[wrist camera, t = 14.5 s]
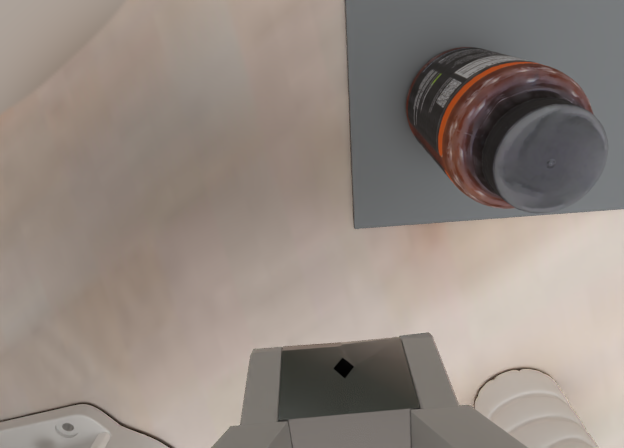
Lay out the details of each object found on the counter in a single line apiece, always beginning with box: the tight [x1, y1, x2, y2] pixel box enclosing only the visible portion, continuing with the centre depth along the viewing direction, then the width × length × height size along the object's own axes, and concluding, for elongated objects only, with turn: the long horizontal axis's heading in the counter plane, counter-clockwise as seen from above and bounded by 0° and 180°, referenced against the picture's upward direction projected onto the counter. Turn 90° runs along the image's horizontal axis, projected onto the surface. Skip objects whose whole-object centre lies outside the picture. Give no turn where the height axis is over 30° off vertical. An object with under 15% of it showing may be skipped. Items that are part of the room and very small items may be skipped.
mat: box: [345, 0, 624, 229], centre depth 27 cm, size 21×14×1 cm, turn 94°
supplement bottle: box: [406, 47, 608, 213], centre depth 22 cm, size 6×6×11 cm
